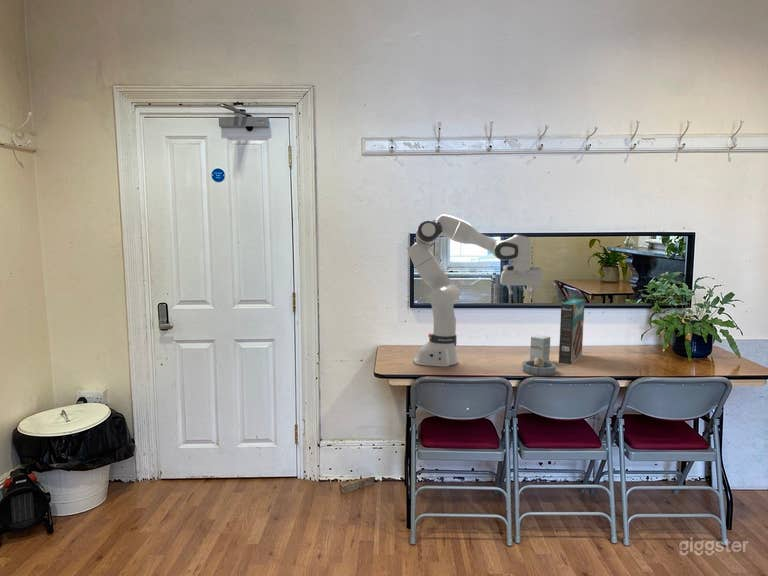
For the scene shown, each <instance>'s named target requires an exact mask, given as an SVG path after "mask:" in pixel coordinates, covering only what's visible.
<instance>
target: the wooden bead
mask: <svg viewBox="0 0 768 576" xmlns="http://www.w3.org/2000/svg"><path fill="white" fill-rule="evenodd" d="M543 366H544V359H542V358H535V360H534V367H538V368H543Z"/></svg>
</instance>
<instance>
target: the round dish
mask: <svg viewBox="0 0 768 576" xmlns="http://www.w3.org/2000/svg"><path fill="white" fill-rule="evenodd" d="M521 368H522V372H523V373H525V374H528V375H533V376H539V377H541V376H542V377H549V376H554V375H555V374H556V371H557V365H556V363H554V362H551V361H544V366H543V368H538V367H534V360H530V359H528V360H524V361H523V362H522V363H521Z"/></svg>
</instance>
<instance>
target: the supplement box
mask: <svg viewBox="0 0 768 576" xmlns="http://www.w3.org/2000/svg"><path fill="white" fill-rule="evenodd" d="M529 350H530V351H529V360H535V358H542V359H544V361H548V362H550V352H551V351H550V350H551V336H549V335H548V336H546V335H541V334H536V335H533V336H531V337H530V349H529Z"/></svg>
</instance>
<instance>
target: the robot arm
mask: <svg viewBox="0 0 768 576" xmlns="http://www.w3.org/2000/svg"><path fill="white" fill-rule="evenodd" d="M439 237H446V238H447V239H450V240H452V241H454V242H457V243H461V244H464V245H465V244H466V245H475V246H478V247H480V248H483V249H485V250H487V251H489V252H490V253H492V255H493V256H494V257H495V258H496V259H497V260H501V261H507V260H512V263H509V264H506V265H505V264H504V265H503V266H502V269H503V270H502V272H500V273H501V274H500V279H499V283H500V285H501V286H506V287H507V289H508V294H509V295H514V294H513V290H512V289H511V286H529V287H530V289H529V290H527V294H528V295H532V294H533V290H534V289H535V286H539V287H541V286H542V284H543V283H542V282H543V281H542V275H543V269H542V268H540V266H531V261H532V259H531V254H532V241H531V238H530V237H529V236H527V235H524V234H519V233H518V234H514V235H513V236H511V237H510V238H506V239H495V238H492V237H490V236H488V235H485V234H483V233H481V232H479V231H478V230H477V229H476V228H475V227H474V226H473V225H472V224H470V223H469V222H467V221H465V220H463V219H461V218H457V217H455V216H452V215H450V214H449V215H448V214H441V215H439V216H438V217H437V218H436V219H433V220H424V221H423V222H420V224H418V226H417V229H416V232H415V242H414V244H412V245H411V246H410V247H409V249H408V254H409V257H410V260H411V262H412V264H413V267H415V270H416V271H417V272H418V274H419V276H420V278H421V279H422V282H423V283H425V285H427V286H428V287H429V288H430V290H431V292H430V295H429V304H430V305H431V310H432V317H433V333H431V332H430V333H428V338H429V341H428V342H427V343H425V344H423V345H422V346H421V347H420V348H419V350H418V352H417V356H414V358H413V363H414V364H415V365H417V366H418V365H419V366H430V367H432V366H433V367H444V368H445V367H450V366H453V365H457V364H458V363H459V359H458V355H457V344H458V343H457V340H458V339H457V338H458V337H457V334H456V333H457V332H456V331H457V329H456V328H457V326H456V325H457V318H456V316H455V310H454V305H455V304H456V303H458V301H459V298H460V296H461V291H460V289H459V287H458V286H456V284H454V282H453V281H452V280H451V279H450V277H449V276H448V275H447V274H446V273H445V272H444V270H443V269H442V266H441V265H440V264H439V262H438V259H436V257H435V255H434V254H433V253H432V249H431V247H432V246H433V245H434V244H435V242H436V241H437V239H438V238H439Z"/></svg>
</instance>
